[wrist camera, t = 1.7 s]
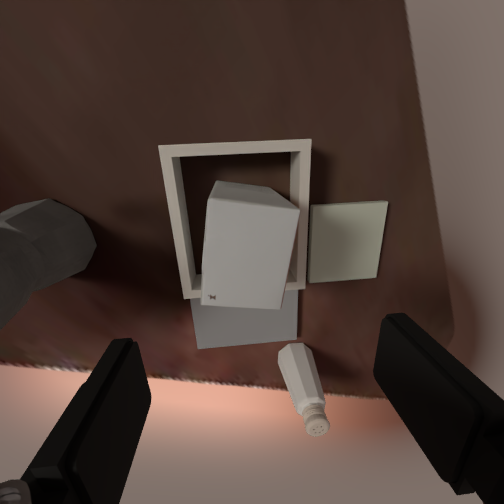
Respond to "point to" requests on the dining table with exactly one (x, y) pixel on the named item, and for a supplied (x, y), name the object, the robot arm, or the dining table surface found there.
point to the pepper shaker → (304, 386)
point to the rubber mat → (345, 240)
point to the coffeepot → (39, 250)
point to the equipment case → (204, 316)
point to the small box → (247, 246)
